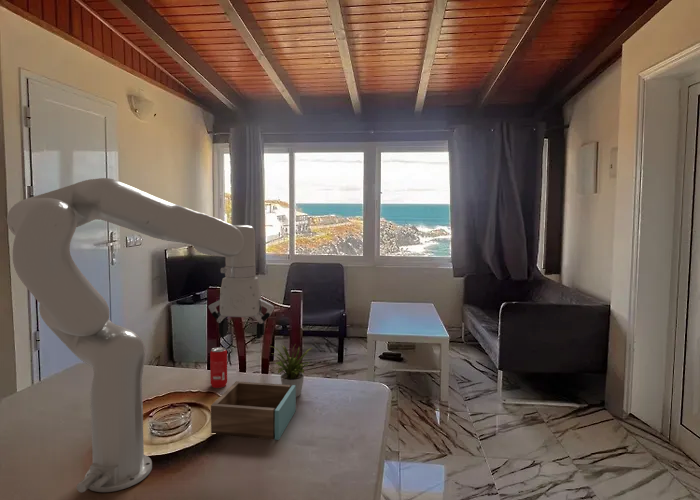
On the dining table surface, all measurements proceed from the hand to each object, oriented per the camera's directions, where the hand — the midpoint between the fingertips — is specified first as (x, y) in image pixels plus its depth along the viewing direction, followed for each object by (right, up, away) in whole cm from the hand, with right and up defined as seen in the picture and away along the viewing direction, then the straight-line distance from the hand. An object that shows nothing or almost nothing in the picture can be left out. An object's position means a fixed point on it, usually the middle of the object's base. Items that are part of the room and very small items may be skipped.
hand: (241, 336), depth 115 cm
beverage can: (-14, -21, +26) cm, 36 cm away
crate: (+3, -23, +1) cm, 23 cm away
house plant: (+9, -22, +19) cm, 30 cm away
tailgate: (+12, -23, -1) cm, 26 cm away
